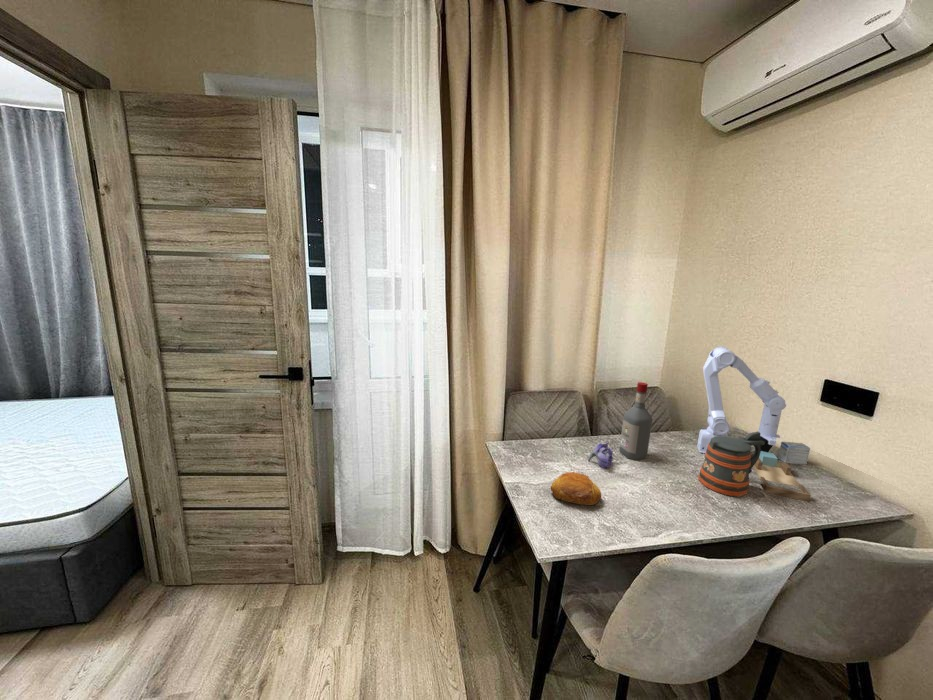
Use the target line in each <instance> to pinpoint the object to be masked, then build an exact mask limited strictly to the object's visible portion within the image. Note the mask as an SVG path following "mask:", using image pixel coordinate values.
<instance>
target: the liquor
mask: <svg viewBox="0 0 933 700" xmlns="http://www.w3.org/2000/svg"><path fill="white" fill-rule="evenodd" d="M648 386H649V385H648V383H646V382H642V381H640V382H637V385H636V395H635V402H634V404H633V406H632V407H630V408H629V409H628V410H626V411H625V413H624V415H623V418H622V426H621V427H622V428H621V434H620V442H619V450H618V451H619V453H620V454H621V455H623V456H624V457H625V458H626V459H627V460H628V459H629V460H633V461H638V460H645V459H646V458H647V456H648V453H649V447H650V439H651V431H652V423H653V417H652V416H653V415H652V416H651V414H650V413H649V411H648V409H646V397H647V392H648Z"/></svg>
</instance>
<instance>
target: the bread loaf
mask: <svg viewBox="0 0 933 700" xmlns="http://www.w3.org/2000/svg"><path fill="white" fill-rule="evenodd" d="M550 491H551V492H552V495H553V497H555V499H558V500H561V501H565V502H568V503H571V504H577V505H583V506H584V505H585V506H591V505H595V504H598V503H599V501H600V500H601V498H602V491H601V489H600V488H599V487H598V485H597V484H596V483H594V482H593V481H592V479H590V477H589V475H586V474H583V473H578V472H570V471H568V472H565V473H561V475H559V476H558V477H557V478H556V479H555V480H554V481H553V482H551V486H550Z"/></svg>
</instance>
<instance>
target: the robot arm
mask: <svg viewBox="0 0 933 700" xmlns="http://www.w3.org/2000/svg"><path fill="white" fill-rule="evenodd" d="M728 367H731V368H733V369H736V370H737V371H739V373H740V374H742V376H743V377H745V379H747V381H748V382H749V388H750V389H751V390H752V391H753V392H754V393H755V395H757V397H758V398H759V399H761V401H762V403H763V408H762V413H761V417H760V422H759V426H758V430H757V432H760V440H761V441H764V442H765V444H764V445H760V448H761V451H763V452H769V453H770V450H771V449H772V448H773V447H775V446H776V444H777V439H780V438H781V435H780V434H778V429H779V424H780V421H781V416H782V411H783V410H785V409H786V407H787V403H786V400H785V399H784V397H782V396H781V395H779V393H780V392H779V391H778V390H777V389H776V390H775V389H774V388H773V386H772V385H770V384H771V382H770V381H769V380H768V379H765V378H762V377H758V376H757V375H756V374H755V373H754V371H753V370H752V369H751V368H750V367H749V366H748V364H747V363H746V362H745V361H744V360H743V359H742V358H740V357H739V356H737V355H736V354H735V353H734V352H733V351H732V350H729V349H728V348H727V347H726V346H717V347H715V348H714V349H712V350H711V351H710V352H709V354H708V358H707V359H706V361H705V363H704V365H703V367H702V372H703V378H704V385H705V390H706V391H705V392H706V397H707V403H708V411H707V412H708V417H707V418H706V419H707V420H706V422H707V424H708V426H707V427H706V429H700V430H699V433H698V434H699V435H698V438H697V444H696V447H697V449H698V452H699V453H701V454H705V453H706V450H707V447H708V443H709V442H710V441H711V438H713V437H716V436H726V437H728V434H729V432H730V430H731V425H730V423H729V422H728V421H727V418H726V417H727V416H726V414H725V412H724V406H723V400H722V394H721V393H722V392H721V386H720V381H719V380H720V379H719V373H720V372H721V371H722V370H723V369H726V368H728Z"/></svg>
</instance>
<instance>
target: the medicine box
mask: <svg viewBox="0 0 933 700" xmlns="http://www.w3.org/2000/svg"><path fill="white" fill-rule="evenodd" d="M810 451H811V447H810V446H808V445H806V444H804V443H802V442H795V441H794V442H793V441H792V442H790V441H781V443H780V447H779V452H778V456H777V458H778V460H780V461H781V462H782V463H783V462H787V463H788V464H795V465H808V464H807V462H808V459H809V456H810Z"/></svg>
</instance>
